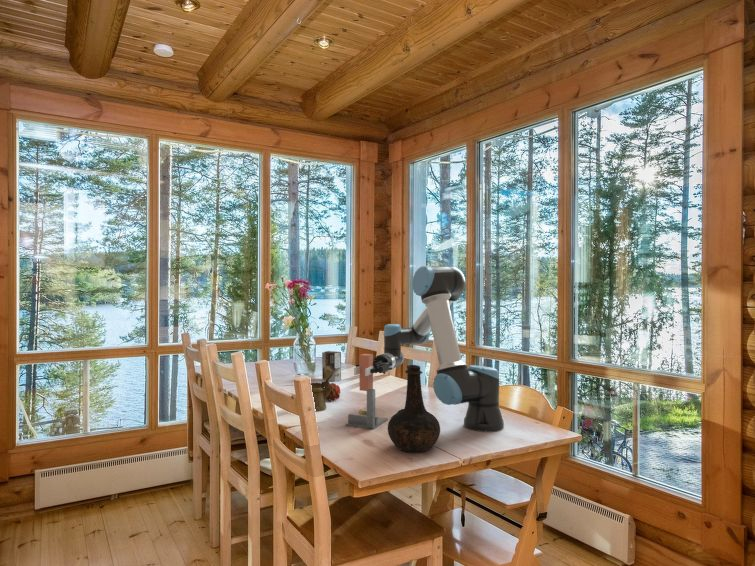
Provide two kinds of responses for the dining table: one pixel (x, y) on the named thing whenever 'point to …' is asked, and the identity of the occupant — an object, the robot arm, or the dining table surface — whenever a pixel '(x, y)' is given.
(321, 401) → the brass mortar and pestle
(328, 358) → the coffee box
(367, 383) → the link bar
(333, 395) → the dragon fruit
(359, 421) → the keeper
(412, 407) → the glass bottle
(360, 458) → the dining table surface
